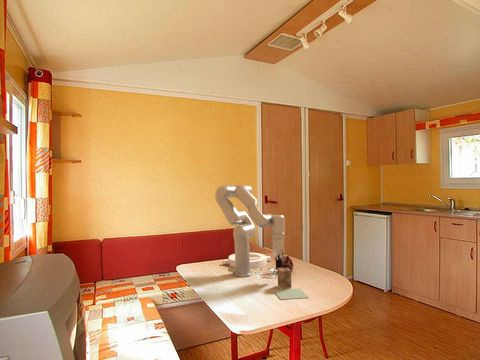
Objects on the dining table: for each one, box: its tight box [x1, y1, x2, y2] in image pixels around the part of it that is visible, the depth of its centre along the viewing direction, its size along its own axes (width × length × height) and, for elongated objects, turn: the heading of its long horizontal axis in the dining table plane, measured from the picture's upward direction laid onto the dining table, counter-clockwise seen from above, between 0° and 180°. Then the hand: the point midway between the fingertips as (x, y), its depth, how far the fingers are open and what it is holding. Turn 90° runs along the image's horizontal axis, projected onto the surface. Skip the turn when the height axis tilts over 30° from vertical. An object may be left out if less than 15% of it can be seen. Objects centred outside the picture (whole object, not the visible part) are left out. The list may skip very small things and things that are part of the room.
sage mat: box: [273, 287, 309, 301], centre depth 156 cm, size 15×13×1 cm
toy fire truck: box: [274, 255, 294, 273], centre depth 195 cm, size 7×12×10 cm, turn 101°
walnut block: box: [277, 268, 292, 290], centre depth 166 cm, size 6×6×10 cm
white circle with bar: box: [222, 252, 272, 269], centre depth 218 cm, size 28×28×5 cm
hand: (279, 266), depth 177 cm, fingers closed
